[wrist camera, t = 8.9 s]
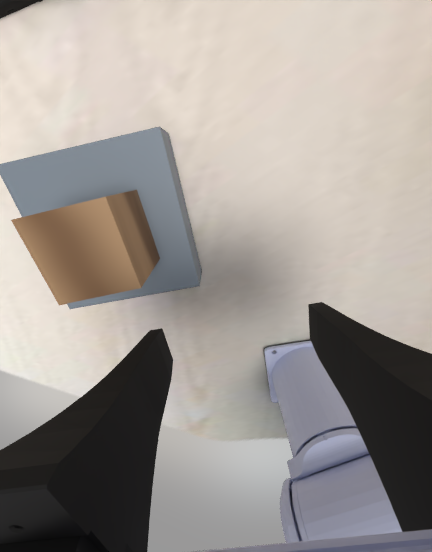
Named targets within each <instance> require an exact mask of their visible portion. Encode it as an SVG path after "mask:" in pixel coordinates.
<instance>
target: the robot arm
mask: <svg viewBox="0 0 432 552" xmlns="http://www.w3.org/2000/svg"><path fill="white" fill-rule="evenodd" d="M309 327H310V340H311V341H304V342H298V343H291V344H285V345H278V346H271V347H267V348H265V350H264V354H265V361H266V368H267V375H268V382H269V389H270V396H271V401H272V402H274V403H278V402H279V406H280V410H281V413H282V417H283V421H284V424H285V428H286V432H287V436H288V439H289V443H290V446H291V450H292V454H293V459H291V460H288V462H287V463H288V467H289V471H290V475H291V478H289V479H286V480H285V481H284V483H283V486H282V493H281V497H280V513H281V521H282V526H283V531H284V536H285V540H286V543H279V544H268V545H257V546H247V547H236V548H225V549H215V550H205V551H193V552H432V354H430V353H427V352H424V351H422V350H419V349H416V348H413V347H411V346H408V345H406V344H403V343H401V342H398V341H396V340H393V339H391V338H389V337H386V336H384V335H382V334H380V333H378V332H376V331H374V330H372V329H370V328H368V327H366V326H364V325H362V324H360V323H358V322H356V321H354V320H352V319H351V318H349V317H347V316H345V315H343V314H342V313H340V312H338V311H336V310H335V309H333V308H331V307H330V306H328V305H326V304H324V303H322V302H320V303H314V304H309ZM274 350H276V351H274ZM272 351H274V352H272ZM172 366H173V358H172V356H171V353H170V350H169V347H168V344H167V341H166V338H165V335H164V332H163V330H162V329H156V330H150V331H149V332H148V333H147V334H146V335H145V336H144V337H143V339H142V340H141V341H140V342H139V343H138V344H137V345H136V346H135V347H134V348H133V349H132V350H131V351H130V353H129V354H128V355H127V356H126V357H125V358H124V359H123V360H122V361H121V362H120V363H119V364H118V365H117V366H116V367H115V368H114V369H113V370H112V371H111V372H110V373H109V374H108V375H107V376H106V377H105V378H103V379H102V380H101V381H100V382H99V383H98V384H97V385H95V386H94V387H93V388H92V389H91V390H90V391H88V392H87V393H86V394H85V395H83V396H82V397H81V398H79V399H78V400H77V401H75V402H74V403H73V404H72V405H70V406H69V407H68V408H66V409H65V410H64V411H62V412H61V413H59V414H58V415H57V416H55V417H54V418H52V419H51V420H49V421H48V422H46V423H45V424H43V425H42V426H40V427H38V428H37V429H35V430H34V431H32V432H31V433H29V434H28V435H26V436H24V437H22V438H21V439H19V440H17V441H16V442H14V443H12V444H10V445H9V446H7V447H5V448H4V449H2V450H0V552H147V546H148V531H149V517H150V506H151V496H152V485H153V476H154V467H155V459H156V451H157V444H158V436H159V431H160V426H161V421H162V417H163V413H164V408H165V404H166V400H167V396H168V391H169V387H170V382H171V376H172Z"/></svg>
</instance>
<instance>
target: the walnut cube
mask: <svg viewBox="0 0 432 552" xmlns="http://www.w3.org/2000/svg"><path fill="white" fill-rule="evenodd" d="M11 221H12V222H13V224H14V226H15V228H16V229H17V231H18V233H19V235H20V237H21V238H22V240H23V242H24V244H25V245H26V247H27V249H28V251H29V253H30V254H31V256H32V258H33V260H34V261H35V263H36V265H37V267H38V269H39V270H40V272H41V274H42V276H43V277H44V279H45V281H46V283H47V285H48V286H49V288H50V290H51V292H52V293H53V295H54V297H55V299H56V301H57V302H58V304H59V305H63V304H68V303H73V302H77V301H82V300H87V299H91V298H96V297H101V296H106V295H110V294H115V293H120V292H125V291H129V290H134V289H139V288H142V286H143V284H144V283H145V281H146V280H147V278H148V277H149V275H150V274H151V272H152V270H153V269H154V267H155V266H156V264H157V263H158V261H159V260H160V257H159V254H158V251H157V248H156V245H155V242H154V239H153V236H152V233H151V230H150V227H149V224H148V221H147V218H146V215H145V212H144V209H143V206H142V203H141V201H140V198H139V195H138V192H137V190H133V191H129V192H124V193H119V194H115V195H110V196H106V197H102V198H98V199H94V200H90V201H86V202H82V203H78V204H74V205H70V206H66V207H62V208H57V209H53V210H49V211H45V212H41V213H37V214H33V215H29V216H25V217H21V218H17V219H13V220H11Z"/></svg>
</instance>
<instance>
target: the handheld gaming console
mask: <svg viewBox="0 0 432 552" xmlns="http://www.w3.org/2000/svg"><path fill="white" fill-rule="evenodd" d="M38 1H39V2H41V1H43V0H0V18H2V17H5V16H7V15H9V14H11V13H14V12H16V11H18V10H20V9H23V8H25V7H27V6H29V5H32V4H34V3H36V2H38Z"/></svg>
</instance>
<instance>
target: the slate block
mask: <svg viewBox="0 0 432 552" xmlns="http://www.w3.org/2000/svg"><path fill="white" fill-rule="evenodd" d="M0 175H1V177H2V179H3V181H4V183H5V185H6V187H7V189H8V190H9V192H10V194H11V196H12V198H13V200H14V202H15V204H16V206H17V208H18V210H19V212H20V214H21V216H22V217H25V216H29V215H33V214H37V213H41V212H45V211H49V210H53V209H57V208H62V207H66V206H70V205H74V204H78V203H82V202H86V201H90V200H94V199H98V198H102V197H106V196H110V195H115V194H119V193H124V192H129V191H133V190H137V192H138V195H139V198H140V201H141V203H142V206H143V209H144V212H145V215H146V218H147V221H148V224H149V227H150V230H151V233H152V236H153V239H154V242H155V245H156V248H157V251H158V254H159V257H160V260H159V261H158V263H157V264H156V266H155V267H154V269H153V270H152V272H151V274H150V275H149V277H148V278H147V280H146V281H145V283H144V284H143V286H142V288H139V289H134V290H129V291H125V292H120V293H115V294H110V295H106V296H101V297H96V298H91V299H87V300H82V301H77V302H73V303H68V304H67V305H68V306H69V308H70V309H73V308H79V307H84V306H90V305H96V304H101V303H107V302H112V301H118V300H124V299H129V298H135V297H140V296H146V295H152V294H157V293H163V292H168V291H174V290H180V289H185V288H191V287H196V286H200V280H201V273H202V270H201V266H200V262H199V258H198V253H197V249H196V245H195V241H194V237H193V233H192V228H191V224H190V220H189V216H188V212H187V208H186V203H185V199H184V195H183V191H182V187H181V183H180V179H179V174H178V170H177V166H176V162H175V158H174V154H173V149H172V145H171V141H170V137H169V134H168V133H167V132H166V131H165V130H163V129H162V128H161V127H156V128H152V129H148V130H143V131H139V132H135V133H131V134H126V135H122V136H118V137H114V138H109V139H105V140H101V141H97V142H92V143H88V144H84V145H80V146H75V147H71V148H67V149H63V150H58V151H54V152H50V153H46V154H41V155H37V156H33V157H29V158H24V159H20V160H16V161H12V162H7V163H3V164H0Z"/></svg>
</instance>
